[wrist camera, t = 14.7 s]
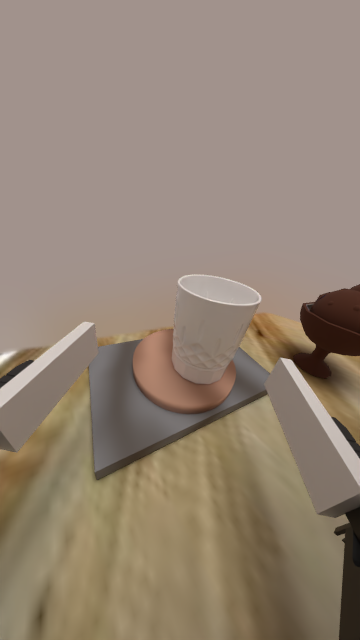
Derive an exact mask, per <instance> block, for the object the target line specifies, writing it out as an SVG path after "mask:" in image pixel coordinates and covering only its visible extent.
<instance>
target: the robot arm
mask: <svg viewBox="0 0 360 640" xmlns="http://www.w3.org/2000/svg"><path fill="white" fill-rule="evenodd" d="M98 353H99V352H98V345H97V337H96V330H95V324H94V323H90V322H83V323H82V324H81V325H79V326H78V327H77V328H75V329H74V330H73V331H72V332H70V333H69V334H68V335H67V336H65V337H64V338H63V339H62V340H60V341H59V342H58V343H57V344H55V345H54V346H53V347H52V348H50V349H49V350H48V351H47V352H45V353H44V354H43V355H42V356H40V357H39V358H38V359H37V360H35V361H33V360H29V361H26V362H24V363H22V364H20V365H18V366H17V367H15V368H14V369H13V370H11V371H10V372H9V373H7V375H6V376H3V377H2V378H1V379H0V449H2V450H7V451H12V452H18V451H19V450H20V448H21V447H22V446H23V445H24V443H25V442H26V441H27V440H28V439H29V437H30V436H31V435H32V434H33V432H34V431H35V430H36V429H37V428H38V426H39V425H40V424H41V423H42V421H43V420H44V419H45V418H46V417H47V415H48V414H49V413H50V412H51V410H52V409H53V408H54V407H55V406H56V404H57V403H58V402H59V401H60V399H61V398H62V397H63V396H64V395H65V393H66V392H67V391H68V390H69V388H70V387H71V386H72V385H73V384H74V382H75V381H76V380H77V379H78V377H79V376H80V375H81V374H82V373H83V371H84V370H85V369H86V368H87V366H88V365H89V364H90V363H91V362H92V360H93V359H94V358H95V357H96V355H97V354H98ZM264 385H265V388H266V390H267V393H268V395H269V397H270V400H271V402H272V405H273V407H274V410H275V412H276V415H277V417H278V420H279V422H280V424H281V427H282V429H283V432H284V434H285V437H286V439H287V442H288V444H289V446H290V449H291V451H292V454H293V456H294V459H295V461H296V464H297V466H298V468H299V471H300V473H301V476H302V478H303V481H304V483H305V486H306V488H307V490H308V493H309V495H310V498H311V500H312V503H313V505H314V508H315V510H316V513H317V514H319V515H324V516H329V517H334V518H336V517H339V516H341V515H343V514H346V516H347V518H348V520H349V522H350V523H348V524H345V525H343V526H340V527H337V528H336V529H335V531H334V533H335V534H336V535H337V536H338V535H341V534H344V533H345V538H344V539H343V540H342V541H343V542H344V543H345V548H344V564H343V581H342V598H341V614H340V631H339V640H360V446H359V445H358V444H357V443H356V441H355V439H354V438H353V437H352V435H351V434H350V432H349V431H348V430H347V428H345V427H344V426H343V425H342V424H341V423H340V422H339V421H338V420H337V419H336V418H334V417H330V415H329V414H328V412H327V411H326V409H325V408H324V406H323V405H322V404H321V402H320V401H319V399H318V398H317V396H316V395H315V393H314V392H313V391H312V389H311V388H310V386H309V385H308V383H307V382H306V380H305V379H304V378H303V376H302V375H301V373H300V372H299V370H298V369H297V367H296V366H295V365H294V363H293V362H292V360H290V359H285V358H279V360H278V362H277V363H276V365H275V367H274V368H273V370H272V372H271V373H270V375H269V377H268V378H267V380H266V382H265V383H264Z"/></svg>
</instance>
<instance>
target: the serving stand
mask: <svg viewBox="0 0 360 640" xmlns="http://www.w3.org/2000/svg"><path fill="white" fill-rule="evenodd" d="M173 331H174V329H168V330H162V331H158V332H155V333H153V334H151V335H149V336H147V337H146V338H144V339H141V340H135V341H130V342H124V343H118V344H112V345H106V346H101V347H98V352H99V353H98V354H97V355H96V357H95V358H94V359H93V360H92V362H91V363H90V364H89V378H90V395H91V413H92V431H93V449H94V467H95V475H96V478H97V480H98V479H100V478H102V477H104V476H106V475H108V474H110V473H112V472H114V471H116V470H118V469H120V468H122V467H124V466H126V465H128V464H130V463H132V462H134V461H136V460H138V459H140V458H142V457H144V456H146V455H148V454H150V453H152V452H154V451H156V450H158V449H160V448H162V447H164V446H166V445H168V444H170V443H172V442H174V441H175V440H177V439H179V438H181V437H183V436H185V435H187V434H189V433H191V432H193V431H195V430H197V429H199V428H201V427H203V426H205V425H207V424H209V423H211V422H213V421H215V420H217V419H219V418H221V417H223V416H225V415H227V414H229V413H231V412H233V411H235V410H237V409H239V408H241V407H243V406H245V405H247V404H249V403H251V402H253V401H255V400H256V399H258V398H260V397H262V396H264V395H266V394H268V393H267V390H266V388H265V385H264V383H265V382H266V380H267V378H268V377H269V375H270V373H269V372H267V371H266V370H265V369H264V368H263V367H262V366H261V365H259V364H258V363H257V362H256V361H255V360H254V359H252V358H251V357H250V356H249V355H248V354H247V353H246V352H244V351H243V350H242V349H241V348H240V347H239V348H238V350H237V351H236V353H235V355H234V357H233V359H232V361H230V363H229V365H228V367H227V369H226V371H225V373H224V375H223V376H222V378H221V379H220V380H219V381H216V382H214V383H211V384H196V383H193V382H191V381H189V380H187V379H184V378H183V377H182V376H181V375H180V374H179V373H178V372H177V371H176V370H175V369H174V366H173V363H172V350H173Z"/></svg>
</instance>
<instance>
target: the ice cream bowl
mask: <svg viewBox="0 0 360 640" xmlns="http://www.w3.org/2000/svg"><path fill="white" fill-rule="evenodd" d="M300 320H301V323H302V326H303V329H304V331H305V333H306V335H307V336H308V338H309V339H310V340H311V341H312V342H314V343H315V344H316V349H315V350H314V351H313V352H312V354H306V353H299V354H296V355H295V356H294V362H295V363H296V364H297V365H298V366H299V367H300V368H301V369H302V370H304V371H306V372H308V373H309V374H311V375H313V376H316V377H320V378H325V379H326V378H327V377H329V376H331V371H330V368H329V366H328V365H327V364H326V363H325V362H324V361H323V360H324V359H325V357H326V356H327V355H328V354H329V353H331V352H332V353H336V354H341V355H349V356H360V284H359V285H357V286H354V287H352V288H351V289H341V290H338V291H334V292H329V293H325V294H322V295H320V296H319V297H318V299H317V300H316V302H311V303H303V305H302V308H301V312H300Z"/></svg>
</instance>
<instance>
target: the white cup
mask: <svg viewBox="0 0 360 640" xmlns="http://www.w3.org/2000/svg"><path fill="white" fill-rule="evenodd" d="M261 300H262V298H261V296H260V294H259V293H258V292H256V291H255V290H254V289H252V288H250V287H248V286H246V285H244V284H241V283H239V282H236V281H233V280H229V279H225V278H220V277H215V276H209V275H187V276H183V277H181V278H180V279H179V280H178V286H177V297H176V307H175V318H174V331H173V350H172V363H173V366H174V369H175V370H176V371H177V372H178V373H179V374H180V375H181V376H182V377H183V378H184V379H187V380H189V381H191V382H193V383H196V384H211V383H214V382H216V381H219V380H220V379H221V378H222V376H223V375H224V373H225V371H226V369H227V367H228V365H229V363H230V361H232V359H233V357H234V355H235V353H236V351H237V350H238V348H239V346H240V344H241V342H242V339H243V337H244V335H245V333H246V331H247V329H248V327H249V325H250V323H251V321H252V319H253V317H254V315H255V313H256V310H257V308H258V306H259V304H260V302H261Z"/></svg>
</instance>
